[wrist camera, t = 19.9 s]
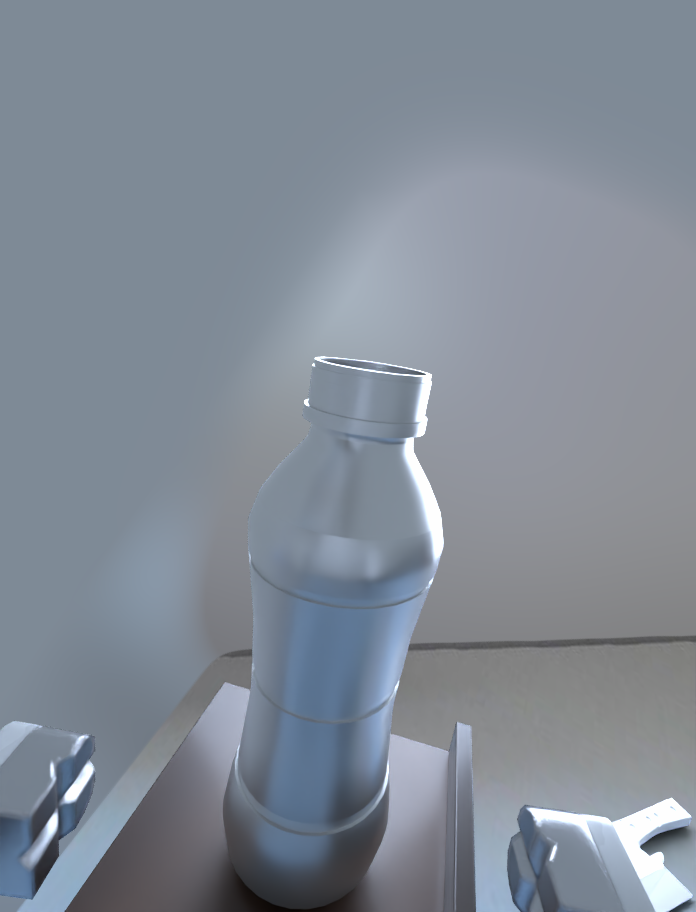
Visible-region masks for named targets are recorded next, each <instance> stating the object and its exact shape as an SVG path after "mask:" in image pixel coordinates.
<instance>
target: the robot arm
mask: <svg viewBox="0 0 696 912" xmlns="http://www.w3.org/2000/svg"><path fill="white" fill-rule="evenodd" d="M94 751H95V737H94V736H92V735H88V734H83V733H77V732H72V731H67V730H62V729H57V728H52V727H47V726H42V725H35V724H29V723H24V722H18V721H13V722H11V723H10V724H8V725H6V726H5V727H3V728H2V729H1V731H0V895H1V896H9V897H16V898H24V899H31V900H32V899H33V898H34V896H35V894H36V893H37V891H38V889H39V888H40V886H41V884H42V883H43V881H44V880H45V878H46V876H47V875H48V873H49V871H50V870H51V868H52V866H53V865H54V863H55V861H56V860H57V858H58V856H59V840H60V839H61V838H63V837H64V836H66V835H67V834H68V833H70V832H71V831H73V830H74V829H75V828H76V826H77V825H78V823H79V821H80V819H81V818H82V816H83V814H84V812H85V810H86V808H87V805H88V803H89V800H90V798H91V795H92V792H93V788H94V782H95V768H94V767H93V765H92V764H91V763H90V761H89V759H90V758H91V756H92V755H93V753H94ZM517 821H518V824H519V828H520V832H518V833H517V834H516V835H514V836H513V837H511V841H510V845H509V849H508V860H507V871H508V879H509V886H510V890H511V895H512V899H513V902H514V904H515V905H516V906H517V908H518V909H519V910H520V912H656V911H655V909H654V907H653V905H652V903H651V901H650V899H649V897H648V895H647V893H646V891H645V889H644V887H643V885H642V883H641V881H640V879H639V877H638V875H637V872H636V870H635V868H634V866H633V864H632V862H631V860H630V858H629V856H628V854H627V852H626V850H625V848H624V846H623V844H622V842H621V840H620V838H619V836H618V834H617V832H616V830H615V827H614V825H613V824H612V823H611V822H610V821H609V819H608V818H604V817H598V816H592V815H586V814H577V813H576V812H570V811H563V810H556V809H550V808H543V807H536V806H529V805H524V806H523V807H522V808H521V809H520V812H519V815H518V818H517Z"/></svg>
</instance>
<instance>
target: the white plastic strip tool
mask: <svg viewBox="0 0 696 912" xmlns="http://www.w3.org/2000/svg"><path fill="white" fill-rule="evenodd" d="M691 820H692V817H691V816H690V815H689V814H688V813H687V812H686V811H685V810H684V809H683V808H682V807H681V806H680V805H679V804H678V803H677V802H676V801H674V800H673V799H672V798H670V799H667V800H665V801H663V802H661V803H658V804H656V805H654V806H651V807H649V808H647V809H644V810H642V811H640V812H637V813H635V814H633V815H630V816H628V817H626V818H623V819H621V820H620V821H619V820H617V821H615V822H612V824H613V825H614V827H615V830H616V832H617V834H618V836H619V838H620V840H621V842H622V844H623V846H624V848H625V850H626V852H627V854H628V856H629V858H630V860H631V862H632V864H633V866H634V868H635V870H636V872H637V875H638V877H639V879H640V881H641V883H642V885H643V887H644V889H645V891H646V893H647V895H648V897H649V899H650V901H651V903H652V905H653V907H654V909H655V911H656V912H668V911H670V910H672V909H674V908H675V907H677V906H679V905H680V904H682V903H684V902H686V901H687V900H689V899H691V898H692V897H693V895H692V894H691V893H690V892H689V891H688V890H687V889H686V888H685V887H684V886H683V885H682V884H681V883H680V882H679V881H678V880H677V879H676V878H675V877H674V876H673V875H672V874H671V873H670V872H669V871H668V870H667V869H666V868H665V867H664V865H663V862H664V856H663V854H662V853H661V852H657V853H655V854H653V855H651V856H650V857H649V856H648V854H647V853H646V852H644V851H643V850H641V849H640V846H641V845H642V844H644V843H645V842H646V841H648V840H649V839H650V838H652V837H653V836H655V835H656V834H659V833H662V832H665V831H668V830H672V829H676V828H680V827H684V826H689V824H690V822H691Z"/></svg>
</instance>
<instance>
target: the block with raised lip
mask: <svg viewBox="0 0 696 912" xmlns="http://www.w3.org/2000/svg"><path fill="white" fill-rule="evenodd" d="M249 696H250V690H249V689H246V688H243V687H239V686H236V685H233V684H230V683H226V682H224V684H223V685H222V686H221V688H220V689H219V691H218V692H217V694H216V695H215V697H214V698H213V699H212V701H211V702H210V704H209V705H208V707H207V708H206V709H205V711H204V712H203V714H202V715H201V717H200V718H199V719H198V721H197V722H196V724H195V725H194V727H193V728H192V730H191V731H190V732H189V734H188V735H187V737H186V738H185V740H184V741H183V742H182V744H181V745H180V747H179V748H178V750H177V751H176V752H175V754H174V755H173V757H172V758H171V760H170V761H169V763H168V764H167V765H166V767H165V768H164V770H163V771H162V773H161V774H160V775H159V777H158V778H157V780H156V781H155V783H154V784H153V786H152V787H151V788H150V790H149V791H148V793H147V794H146V796H145V797H144V798H143V800H142V801H141V803H140V804H139V806H138V807H137V808H136V810H135V811H134V813H133V814H132V816H131V817H130V819H129V820H128V821H127V823H126V824H125V826H124V827H123V829H122V830H121V831H120V833H119V834H118V836H117V837H116V839H115V840H114V841H113V843H112V844H111V846H110V847H109V849H108V850H107V852H106V853H105V854H104V856H103V857H102V859H101V860H100V862H99V863H98V864H97V866H96V867H95V869H94V870H93V872H92V873H91V874H90V876H89V877H88V879H87V880H86V882H85V883H84V885H83V886H82V887H81V889H80V890H79V892H78V893H77V895H76V896H75V897H74V899H73V900H72V902H71V903H70V905H69V906H68V907H67V909H66V910H65V912H476V895H475V854H474V813H473V772H472V731H471V726H469V725H466V724H463V723H459V722H457V723H456V725H455V729H454V733H453V737H452V741H451V745H450V749H449V751H446V750H443V749H440V748H437V747H433V746H430V745H427V744H424V743H420V742H417V741H414V740H411V739H407V738H404V737H401V736H398V735H395V734H391V733H390V743H389V754H388V766H389V778H390V793H389V812H388V823H387V827H386V831H385V834H384V837H383V840H382V842H381V845H380V847H379V849H378V851H377V853H376V855H375V857H374V860H373V862H372V863H371V865H370V867H369V869H368V871H367V873H366V874H365V876H364V877H363V878H362V880H361V881H360V882H359V883H358V884H357V885H356V886H355V888H354V889H352V890H351V891H350V892H348V893H347V894H346V895H344V896H343V897H342V898H340V899H338V900H336V901H334V902H332V903H330V904H327V905H325V906H321V907H316V908H311V909H289V908H285V907H281V906H278V905H274V904H272V903H270V902H268V901H266V900H264V899H262V898H261V897H259V896H257V895H256V894H255V893H254V892H253V891H252V890H251V889H249V888H248V887H247V886H246V885H245V884H244V882H243V881H242V879H241V878H240V877H239V875H238V874H237V873H236V871H235V868H234V866H233V864H232V861H231V859H230V857H229V852H228V846H227V841H226V835H225V828H224V822H223V799H224V795H225V791H226V786H227V782H228V778H229V774H230V770H231V766H232V762H233V759H234V757H235V754H236V751H237V748H238V746H239V744H240V742H241V737H242V732H243V727H244V721H245V716H246V711H247V706H248V701H249Z"/></svg>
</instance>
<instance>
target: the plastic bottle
mask: <svg viewBox="0 0 696 912" xmlns="http://www.w3.org/2000/svg"><path fill="white" fill-rule="evenodd" d="M430 380H431V374H429V373H426V372H422V371H419V370H414V369H409V368H405V367H399V366H394V365H388V364H382V363H376V362H368V361H361V360H353V359H343V358H332V357H317V358H315V361H314V364H313V366H312V375H311V381H310V389H309V396H308V399H307V400H305V402H304V408H303V415H302V416H303V417H304V418H305V419H306V420H307V421H309V422H311V427H310V431H309V433H308V436H307V437H306V438H305V439H304V440H303V441H302V442H301V443H300V444H299V445H298V446H297V447H296V448H295V449H294V450H293V451H292V452H291V453H290V454H289V455H288V456H287V457H286V458H285V459H284V460H283V461H282V462H281V463H280V464H279V465H278V466H277V468H276V469H275V470H274V471H273V473H272V474H271V475H270V476H269V478H268V479H267V480H266V481H265V482H264V484H263V485H262V486H261V488H260V490H259V492H258V495H257V497H256V500H255V502H254V505H253V507H252V510H251V512H250V515H249V517H248V549H249V550H248V551H249V562H250V575H251V589H252V602H253V615H254V621H253V622H254V623H253V650H252V653H253V662H252V682H251V690H250V696H249V701H248V706H247V711H246V716H245V721H244V727H243V732H242V737H241V742H240V744H239V746H238V748H237V751H236V754H235V757H234V759H233V762H232V766H231V770H230V774H229V778H228V782H227V786H226V791H225V795H224V799H223V822H224V828H225V835H226V841H227V846H228V852H229V857H230V859H231V861H232V864H233V866H234V868H235V871H236V873H237V874H238V875H239V877H240V878H241V879H242V881H243V882H244V884H245V885H246V886H247V887H248V888H249V889H251V890H252V891H253V892H254V893H255V894H256V895H257V896H259V897H261V898H262V899H264V900H266V901H268V902H270V903H272V904H274V905H278V906H281V907H285V908H289V909H311V908H316V907H321V906H325V905H327V904H330V903H332V902H334V901H336V900H338V899H340V898H342V897H343V896H344V895H346V894H347V893H348V892H350V891H351V890H352V889H354V888H355V886H356V885H357V884H358V883H359V882H360V881H361V880H362V878H363V877H364V876H365V874H366V873H367V871H368V869H369V867H370V865H371V863H372V862H373V860H374V857H375V855H376V853H377V851H378V849H379V847H380V845H381V842H382V840H383V837H384V834H385V831H386V827H387V823H388V812H389V793H390V778H389V766H388V754H389V743H390V733H391V722H392V712H393V704H394V700H395V697H396V693H397V689H398V685H399V678H400V676H401V674H402V670H403V666H404V662H405V658H406V654H407V650H408V646H409V642H410V639H411V636H412V633H413V631H414V628H415V625H416V623H417V620H418V617H419V615H420V612H421V610H422V606H423V604H424V602H425V599H426V596H427V594H428V591H429V588H430V586H431V583H432V580H433V577H434V575H435V572H436V570H437V567H438V563H439V559H440V555H441V552H442V549H443V534H442V523H441V513H440V511H439V508H438V505H437V502H436V500H435V497H434V494H433V492H432V489H431V486H430V484H429V482H428V480H427V478H426V476H425V474H424V472H423V470H422V468H421V466H420V464H419V462H418V460H417V458H416V456H415V454H414V452H413V438H414V437H419V436H422V435H423V434H424V433H425V428H426V423H427V418H426V417H425V411H426V406H427V401H428V397H429V391H430V387H431V381H430Z"/></svg>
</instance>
